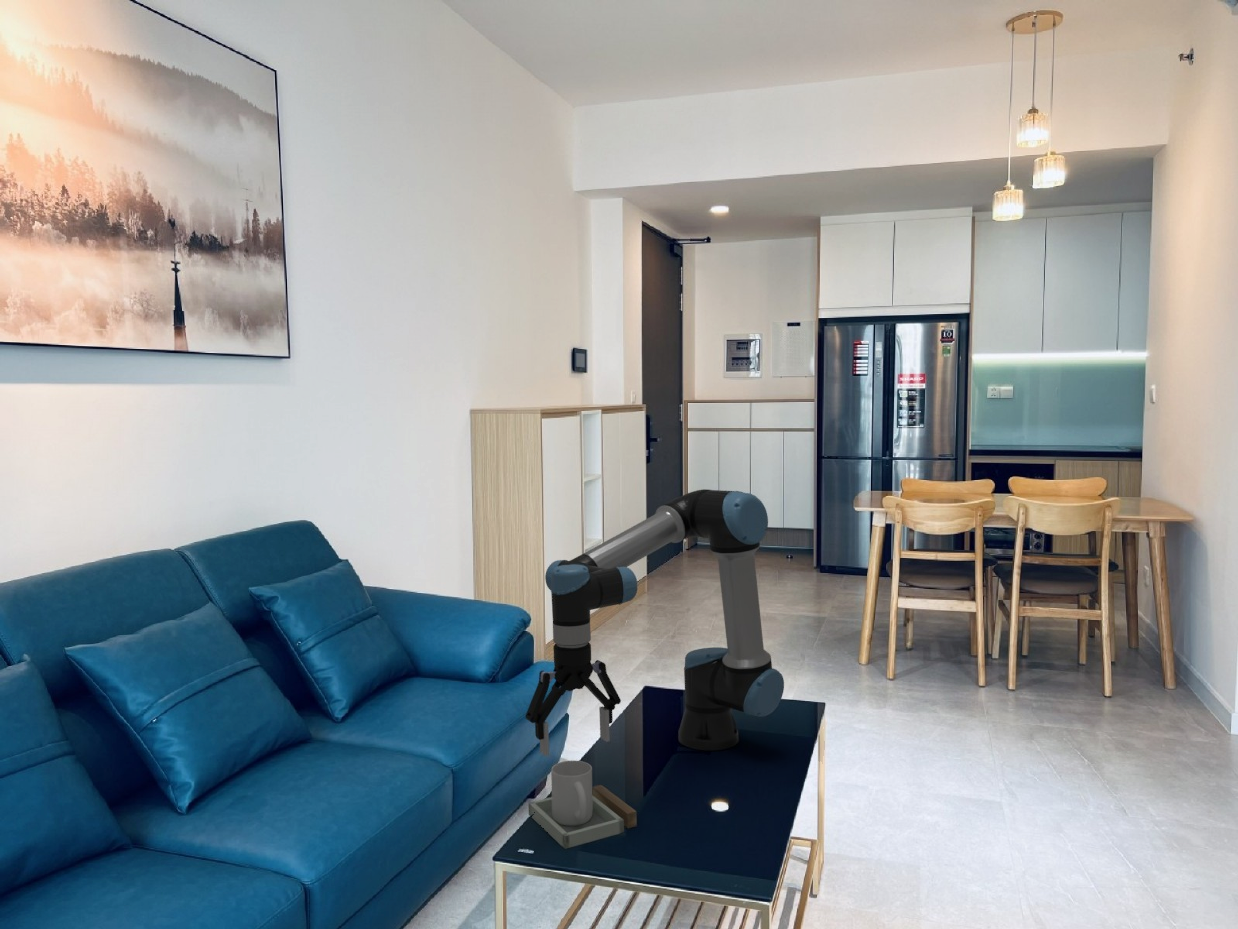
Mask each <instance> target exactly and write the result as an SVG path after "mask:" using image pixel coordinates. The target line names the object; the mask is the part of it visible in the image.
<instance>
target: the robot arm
mask: <svg viewBox="0 0 1238 929" xmlns="http://www.w3.org/2000/svg"><path fill="white" fill-rule="evenodd" d="M768 516H769V515H768V512H767V508H766V507H765V505H764V503H763V502H762V500H761V499H760V498H758V497H757V496H756V495H755V494H752V493H749V492H743V491H738V490H718V489H717V490H716V489H715V490H714V489H699V490H698V489H697V490H694V491H690V492H688V493H686V494H683V495H680V496H678V497H676V498H674V499H672V500H670V501H669V502H666V503H664V504H663V505H660V506H659V507H658V508H657V509H656V511H655V514H653V515H652V516H649V517H648V518H645V519H644V520H642V521H640V522H639V523H637V524H635V525H633V526H631V527H629V528H628V529H626V530H624V531H622V532H620V533H619V534H616V535H615V536H613V537H611V538H609V539H607V540H605V541H604V542H602V543H600V544H599V545H598V544H597V545H596V546H595V547H593V548H590V549H589V550H587V551H586V552H583V553H582V554H579V555H578V556H576V557H574V558H571V559H570V560H567V559H557V560H554V561H552V562H551V564H549V566H548V567H547V569H546V571H545V576H544V580H545V585H546V586H547V588H548V589H549V591H550V593H551V608H552V609H551V611H552V613H551V614H552V640H553V641H552V642H553V643H554V645H553V647H552V648H553V664H554V668H553V671H546V670H545V671H544V670H540V671H539V675H538V683H537V685H536V688H535V691H534V693H533V696H532V699H531V701H530V704H529V705H528V709H527V711H526V714H525V719H526V720H528V721H529V722H530V723H531V724H534V728H535V738H536V739H538V740H539V752H540V753H541V754H542V755H543V756H544V757H550V738H549V737H550V736H549V735H550V734H549V723H548V722H547V721H546V720H547V719H548V717H549V716H550V713H551V712H552V711H553V709H554V708H555V706H556V705H557V704H558V702H559V699H560V698H561V697H562V696H564V695H565V693H566V691H567V692H573V691H574V690H581V689H583V688H584V687H585V688H586V689H588V691H589V692H590V693H591V694H592V695H593V697H595V698H596V699H597V700H598V701H599V702H600V703H601V704H602V705H603V706H599V711H598V712H599V735H600V736H599V738H600V739H601V740H603V741H604V742H606V743H608V742H610V741H611V739H610V738H611V737H610V724H612V723H613V710H615V709H616V705H619V704H621V701H622V700H621V698H620V696H619V694H618V692H617V689H616V688H615V686H614V685H613V683H612V680H611V678H610V676H609V675H608V673H607V666H606V663H605V662H602V661H601V660H599V659H596V660H595V661H594V663H592V662H591V661H592V645H591V643H590V641H592V638H591V637H592V636H591V610H596V609H602V608H607V607H611V606H616V605H617V606H618V605H623V604H625V603H628V602H630V601H632V600H634V598H635V597H636V595H637V593H638V580H637V577H636V574H635V572H634V571H633V570H632V569H631V568H629V566H631V565H633V564H635V563H637V562H638V561H640V560H642V559H644V558H645V557H647V556H649V555H651V554H652V553H654V552H656V551H657V550H660V549H661V548H663V547H665V546H666V545H667V544H670V543H673V544H678V543H680V542H682V541H684V540H686V539H689V538H703V539H708V540H709V551H710V552H711V553H712V554H713V555H714V556H716V557H717V562H718V564H717V566H718V573H719V583H720V592H721V601H722V610H723V620H724V629H725V638H726V647H722V646H721V647H715V646H714V647H703V648H698V649H694V650H690V651H688V653H686V655H685V657H684V668H683V673H684V676H683V677H684V679H683V680H684V712H683V715H682V719H681V722H680V726H679V728H678V731H677V732H678V742H679V743H680V744H681V745H683V746H685V747H687V748H689V749H692V750H693V749H694V750H698V751H722V750H728V749H731V748H734V747H735V746H737V744H738V743H739V729H738V727H737V723H736V721H735V718H734V714H733V711H732V710H735V711H737V712H738V711H739V712H741V713H745V714H746V715H748V716H756V717H759V718H760V717H761V718H762V717H766V716H768V715H770V714H771V713H773V712H774V711H775V710H776V708H777V707H778V706H779V704H780V702H781V701H782V698H783V694H784V690H785V680H784V676H783V674H782V673H780V671H779V670H778V669H776V668H773V664H772V663H773V662H772V655H771V654H770V653H769V652H768V651H766V650H765V648H764V647H765V646H764V639H763V638H764V637H763V628H762V617H761V608H760V601H759V600H760V598H759V588H758V580H757V579H758V578H757V571H756V570H757V569H756V568H757V567H756V561H755V560H756V559H755V554H756V552H757V551H758V550H759V548H760V547H761V543H760V542H761V541H762V540H763V539H764V538H765V536H766V534H767V531H766V530H768V527H769V526H768V525H769V517H768ZM593 672H594V673H596V674H597V677H598V679H599V682H600V683H601V685H602V686H603V689H604V690H605V693H606V694H607V696H608V697H609V698H608V697H607V696H606V695H605V694H604V693H603V691H602V690H600V689H599V688H598V686H597V685H596V684H595V683H594V682H593V681H592V679H591V678H590V677H591V675H592V674H593ZM553 680H555V682H554V683H553V685H552V686H551V690H550V692H549V693H548V690H549V688H550V684H551V683H552V682H553ZM547 693H548V694H547ZM546 696H547V697H546Z"/></svg>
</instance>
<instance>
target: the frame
mask: <svg viewBox="0 0 1238 929" xmlns="http://www.w3.org/2000/svg"><path fill="white" fill-rule="evenodd" d="M592 806H593V811H592V817H591V819H590V820H589V821H588V822H586V823H584V824H581V825H577V826H565V825H561V824H559V823H557V822H556V821H555V820H554V819H553V816H552V796H550V797H546V798H542V799H537V800H534V801H530V802H528V816H529V817H531V815H532V814H534V815H533V816H532V817H531V819H533V820H534V821H535V822H536V823H537V824H538V825H539V826H540V825H541V826H540V827H542V829H543V828H544V829H543V830H544V831H545V832H546V833H547V832H548V835H550V837H552V838H553V839H554V841H555V842H557V843H558V844H559V845H560V846H561V847H562V848H563V849H564V850H567V849H570V848H573V847H577V846H580V845H581V846H582V845H584V844H588V843H591V842H595V841H599V840H602V839H606V838H609V837H612V836H616V835H621V834H622V833H623V834H624V833H625V826H624V820H623V819H622V818H621V817H619V816H618V815H617V814H616V813H614V812H613V811H612V810H610V809H609V808H608V807H607V806H605V805H604V804H603V803H602V802H600V801H599V800H598V799H597V798H595V797H594V796H593V794H592ZM534 812H535V813H534Z"/></svg>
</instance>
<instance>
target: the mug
mask: <svg viewBox="0 0 1238 929" xmlns="http://www.w3.org/2000/svg"><path fill="white" fill-rule="evenodd" d="M550 771H551V772H550V773H551V776H550V777H551V797H552V816H553V819H554V820H555V821H556V822H557V823H559V824H561V825H565V826H577V825H581V824H584V823H586V822H588V821H589V820H590V819H591V817H592V811H593V806H592V795H593V767H592V765H591V764H590V763H588V762H586V761H582V760H564V761H560V762H558V763H555V764H554V765H553V766H552V767H551V770H550Z"/></svg>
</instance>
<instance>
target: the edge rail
mask: <svg viewBox="0 0 1238 929" xmlns="http://www.w3.org/2000/svg"><path fill="white" fill-rule="evenodd" d="M592 795H593V796H594V797H595V798H597V799H598V800H599V801H600V802H602V803H603V804H604V805H605V806H607V807H608V808H609V809H610V810H612V811H613V812H614V813H616V814H617V815H618V816H619V817H621V818H622V819H623V820H624V827H625V828H627V829H631V828H634V827H638V826H637V825H638V824H637V821H638V820H637V814H638V813H637V811H636V809H634V808H633V807H631V806H630V805H628V804H627V803H626V802H624V801H623V800H622V799H621V798H620V797H618V796H617V795H615V794H614V793H612V792H611V791H610V790H609V789H607V788H606V787H605V786H603V785H602V784H599V785H598V784H597V785H595V786H592Z"/></svg>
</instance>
